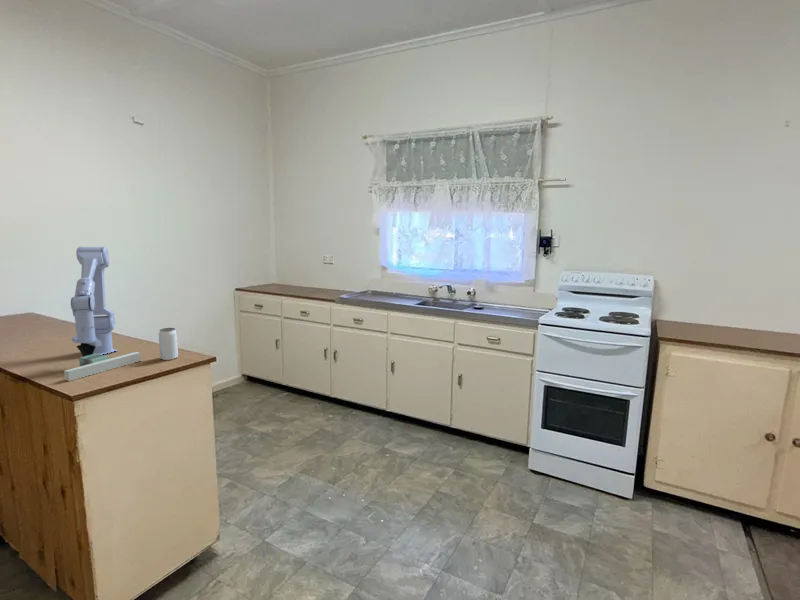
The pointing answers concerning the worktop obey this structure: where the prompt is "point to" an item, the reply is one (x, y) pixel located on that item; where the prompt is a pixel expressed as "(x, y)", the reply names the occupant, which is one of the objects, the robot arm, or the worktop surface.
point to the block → (92, 359)
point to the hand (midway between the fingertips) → (88, 362)
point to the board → (101, 366)
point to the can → (168, 343)
